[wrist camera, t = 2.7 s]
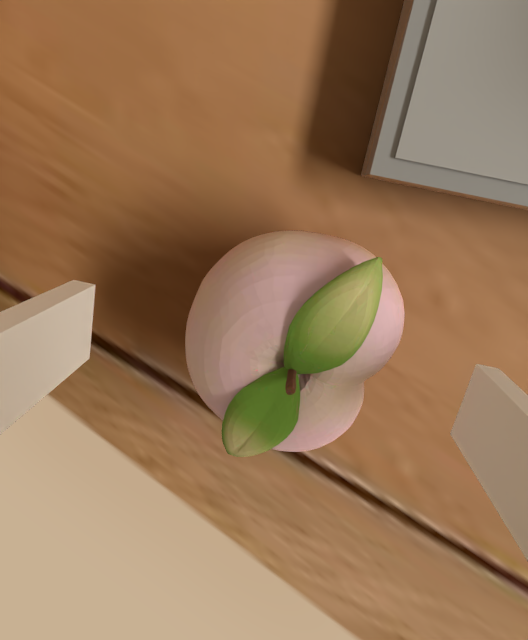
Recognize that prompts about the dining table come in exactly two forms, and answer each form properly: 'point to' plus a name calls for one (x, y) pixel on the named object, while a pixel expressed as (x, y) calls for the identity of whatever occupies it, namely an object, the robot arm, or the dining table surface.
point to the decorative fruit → (290, 338)
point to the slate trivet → (456, 102)
